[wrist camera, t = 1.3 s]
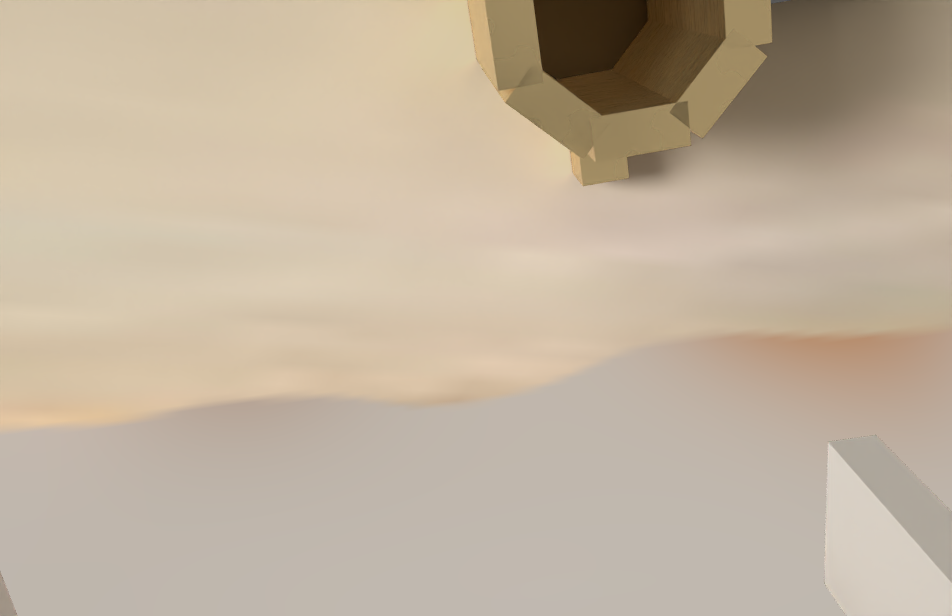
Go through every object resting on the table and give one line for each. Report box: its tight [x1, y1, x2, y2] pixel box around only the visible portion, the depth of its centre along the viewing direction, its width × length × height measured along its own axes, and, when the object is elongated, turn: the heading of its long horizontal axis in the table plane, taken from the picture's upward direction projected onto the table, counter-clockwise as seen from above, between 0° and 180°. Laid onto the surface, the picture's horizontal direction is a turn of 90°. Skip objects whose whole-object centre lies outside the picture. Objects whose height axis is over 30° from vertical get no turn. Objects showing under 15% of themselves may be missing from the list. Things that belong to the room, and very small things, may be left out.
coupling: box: [468, 0, 772, 186], centre depth 26 cm, size 12×7×8 cm, turn 9°
